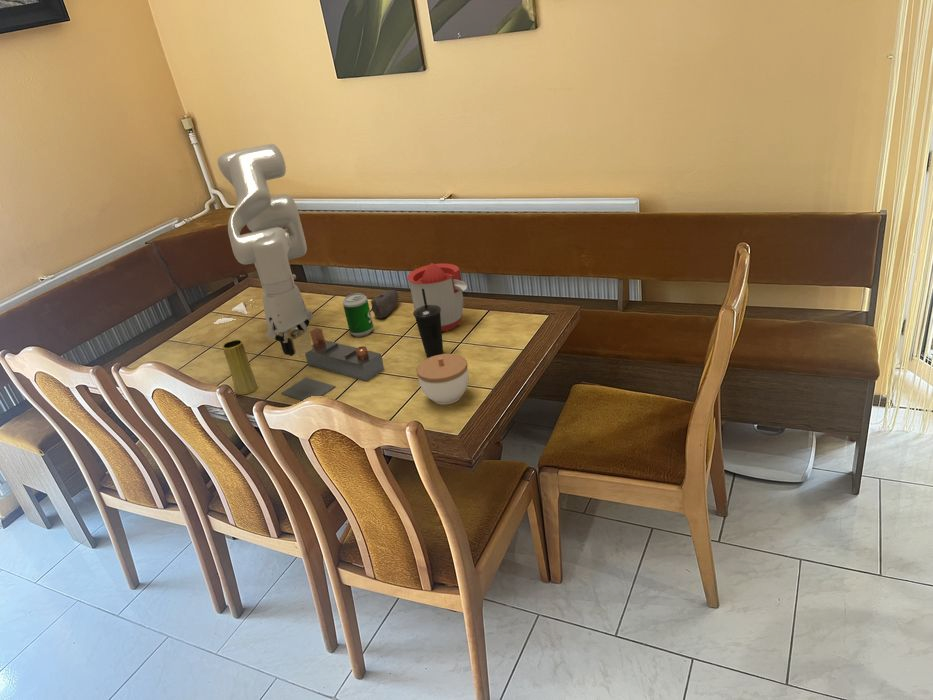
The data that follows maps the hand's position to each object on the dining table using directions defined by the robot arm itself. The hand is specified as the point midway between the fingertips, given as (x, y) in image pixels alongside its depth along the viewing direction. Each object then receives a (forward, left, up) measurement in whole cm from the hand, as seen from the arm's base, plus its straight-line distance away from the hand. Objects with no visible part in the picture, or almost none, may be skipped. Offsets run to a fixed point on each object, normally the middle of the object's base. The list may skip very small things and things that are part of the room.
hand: (297, 349), depth 189 cm
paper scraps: (-69, +26, -14) cm, 75 cm away
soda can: (-12, +33, -13) cm, 38 cm away
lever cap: (0, 0, 0) cm, 0 cm away
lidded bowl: (+38, +13, -13) cm, 42 cm away
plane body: (0, +14, -13) cm, 19 cm away
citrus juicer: (+10, +47, -13) cm, 50 cm away
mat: (0, 0, -13) cm, 13 cm away
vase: (-18, -7, -13) cm, 23 cm away
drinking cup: (+20, +30, -13) cm, 38 cm away
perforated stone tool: (-15, +48, -13) cm, 52 cm away
